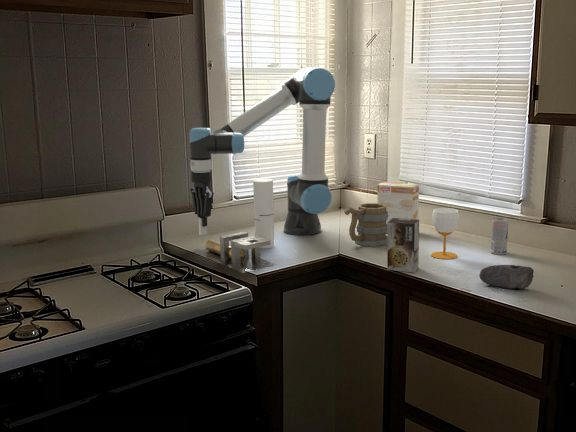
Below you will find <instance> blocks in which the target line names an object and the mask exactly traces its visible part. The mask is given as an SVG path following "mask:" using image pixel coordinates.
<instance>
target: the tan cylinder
mask: <svg viewBox="0 0 576 432" xmlns="http://www.w3.org/2000/svg"><path fill="white" fill-rule="evenodd" d="M204 244H205V245H204V247H205V249H207V250H209V251H211V252H214V253H216V254H219V255H221V254H220V241H217V240H213V239H208V240H206V242H205V243H204ZM240 257H241V262H242V261H244V259H245V253H244V252H243V251H241V250H240ZM229 259H232V257H231V245H229Z"/></svg>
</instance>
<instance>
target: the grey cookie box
mask: <svg viewBox="0 0 576 432" xmlns="http://www.w3.org/2000/svg"><path fill="white" fill-rule="evenodd" d="M387 227H388V233H387V236H388V244H387V258H386V260H387V263H386V264H387V267H386V270H387V271H396V272H406V273H415V272H416V271H417V270H418V269H419V264H420V263H419V260H420V259H419V258H420V257H419V253H420V252H419V251H420V250H419V249H420V219H418V220H415V219H401V218H392V219H391V220H390V221H389V222H387Z"/></svg>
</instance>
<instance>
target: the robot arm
mask: <svg viewBox="0 0 576 432" xmlns="http://www.w3.org/2000/svg"><path fill="white" fill-rule="evenodd" d="M335 81H336V80H335V78H334V76H333V74H332V73H331V72H330V71H329V70H328V69H326V68H324V67H319V66H312V67H304V68H302V69H299V70H298V71H297V72H295V73H294V74H293V75H292V76H290V77H289V78H287V79H286V80H285V81H283V82H282V83H281V84H280V87H279V88H277V89H276V90H274V91H273V92H272V93H271V94H270V95H267V96H266V97H264V98H263V99H262V100H261V101H258V102H257V103H256V104H254V105H253V106H252V107H249V109H247V110H245V111H244V112H243V113H241V114H240V115H239V116H236V117H235V118H234V119H232V120H231V121H230V122H228V123H227V124H226V125H224V126H222V127H221V128H218V129H216V130H214V131H213V132H211V128H210V127H193V128H191V129H190V130H189V157H190V158H189V159H190V163H189V165H190V171H191V172H190V182H192V183H193V187H191V188H189V189H190V193H191V197H192V205H193V211H194V215H196V217H197V218H198V234H199V236H206V235H208V218H209V217H211V212H212V206H213V205H212V204H213V197H214V194H215V193H214V191H211V189H210V183H211V182H212V180H213V178H212V177H213V172H212V170H213V169H212V168H213V167H212V165H213V164H212V155H219V154H220V155H222V154H223V155H225V154H226V155H227V154H228V155H229V154H232V155H233V154H234V155H235V154H242V153H243V152H244V150H245V136H248V135H249V134H251V132H252V131H254V130H256V129H257V128H259V127H261V126H262V125H263V124H264V123H266V122H268V121H269V120H271V119H272V118H273V117H275V116H276V115H278V114H279V113H280V112H282V111H283V110H285V109H287V108H288V107H289V106H291V105H293V106H295V105H297V104H299V106H300V107H301V108H302V153H301V154H302V155H301V156H302V157H301V173H300V174H296V175H295V174H294V175H289V176H288V177H287V179H286V180H287V182H286V186H287V187H286V188H287V189H286V190H287V213H286V218H285V222H284V224H283V233H286V234H290V235H295V236H298V235H299V236H300V235H301V236H305V235H314V234H318V233H320V232H321V231H322V224H321V221H320V217H319V214H321V213H324V212H325V211H326V210H327V209H328V208H329V207H330V205H331V204H332V193H331V190H330V188H329V176H328V175H327V174H326V173H325V171H326V170H325V168H326V134H327V132H326V130H327V129H326V127H327V126H326V125H327V109H328V108H329V107H330V106H331V104H332V103H331V98H332V97H331V96H332V95H333V93H334V92H335V88H336V82H335Z"/></svg>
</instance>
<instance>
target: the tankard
mask: <svg viewBox="0 0 576 432" xmlns="http://www.w3.org/2000/svg"><path fill="white" fill-rule="evenodd" d="M357 207H358V208H357V209H355V208H352V207H350V206H349V207H347V208H346V209H345V210H344V213H345V215H346V216H349V215H350V214H351V221H350V225H349V230H348V231H349V233H348V235H349V237H350V239H351V241H352V242H354V243H355V244H357V245H359V246H363V247H381V246H387V245H388V235H387V234H388V233H387V230H388V227H387V224H386V220H387V219H388V211H386V205H384V204H378V203H377V202H372V203H371V202H367V203H361V204H359V205H358V206H357ZM356 233H357V234H356Z"/></svg>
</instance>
